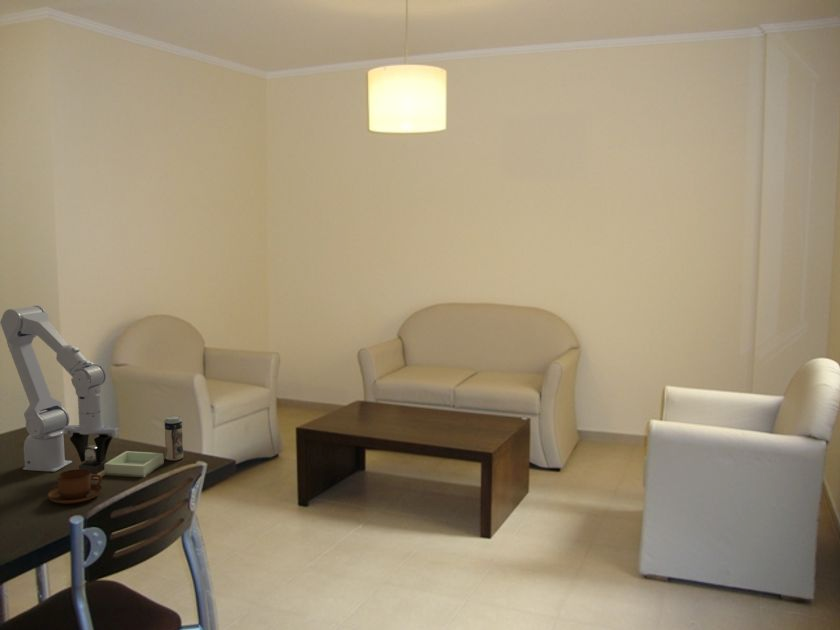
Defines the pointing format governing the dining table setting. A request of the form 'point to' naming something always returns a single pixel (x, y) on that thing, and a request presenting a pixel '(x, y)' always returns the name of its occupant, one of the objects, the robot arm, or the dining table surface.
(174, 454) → the lidded jar
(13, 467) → the dining table surface
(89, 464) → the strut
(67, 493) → the cup and saucer
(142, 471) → the tray
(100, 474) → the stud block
